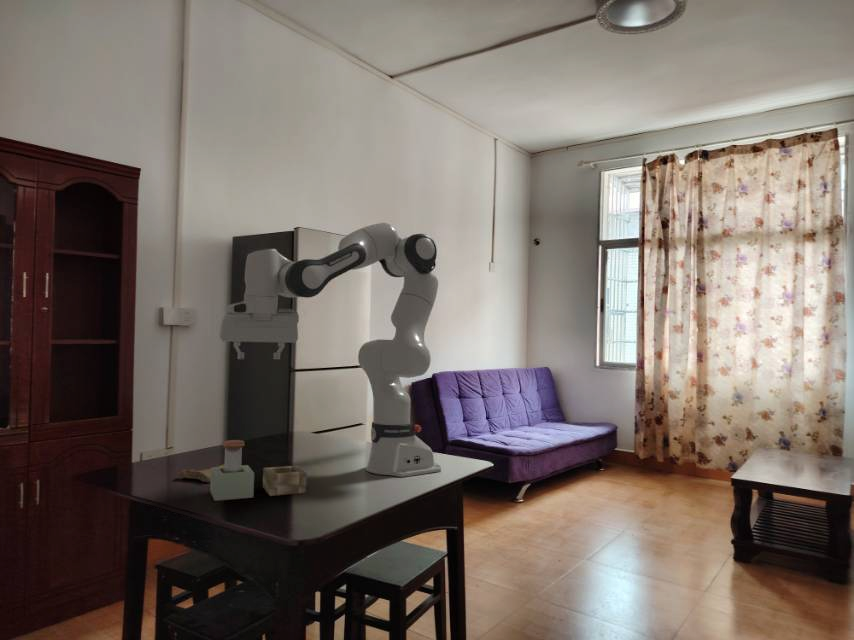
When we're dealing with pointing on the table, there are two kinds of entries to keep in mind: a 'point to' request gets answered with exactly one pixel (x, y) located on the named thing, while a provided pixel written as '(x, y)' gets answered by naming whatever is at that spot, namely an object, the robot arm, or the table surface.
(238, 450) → the pin
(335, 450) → the table surface
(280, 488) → the mount block
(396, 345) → the robot arm
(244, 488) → the socket block
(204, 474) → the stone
